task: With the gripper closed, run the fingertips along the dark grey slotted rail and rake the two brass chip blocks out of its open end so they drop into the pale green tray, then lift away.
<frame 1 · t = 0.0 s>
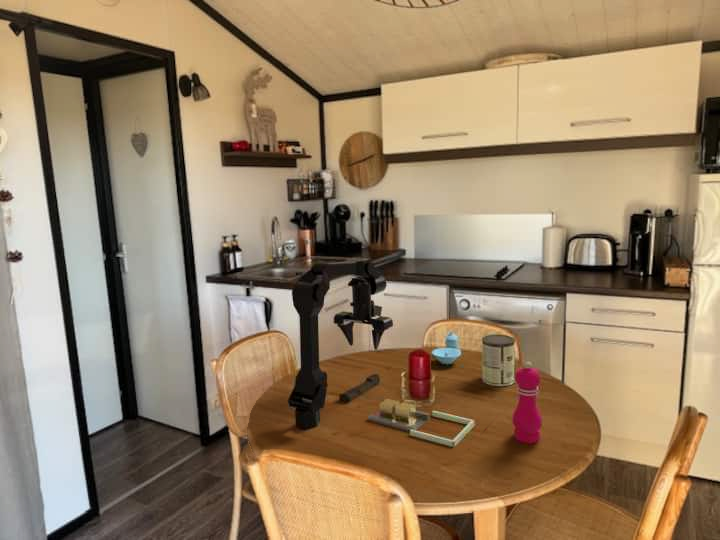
hand: (363, 347, 161), 15 cm above the table, tool pointing down, fingers open, 9 cm apart
pepper mill: (526, 438, 131), on the table
dark piece: (361, 395, 161), on the table
slot rail: (399, 422, 141), on the table
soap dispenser: (448, 361, 189), on the table
coffee can: (497, 381, 168), on the table
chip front: (405, 420, 140), point 1 cm above the table, touching slot rail
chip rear: (389, 416, 143), point 1 cm above the table, touching slot rail
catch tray: (443, 434, 134), on the table
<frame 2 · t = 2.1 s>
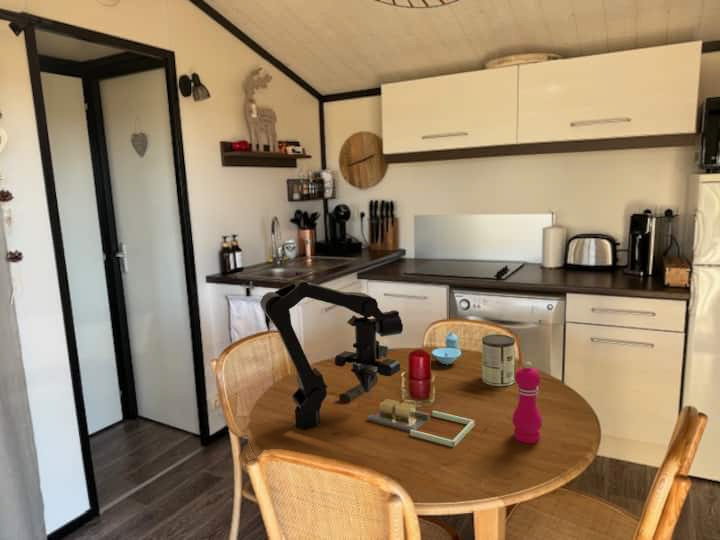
hand: (367, 392, 146), 7 cm above the table, tool pointing down, fingers closed
nothing on the table moved.
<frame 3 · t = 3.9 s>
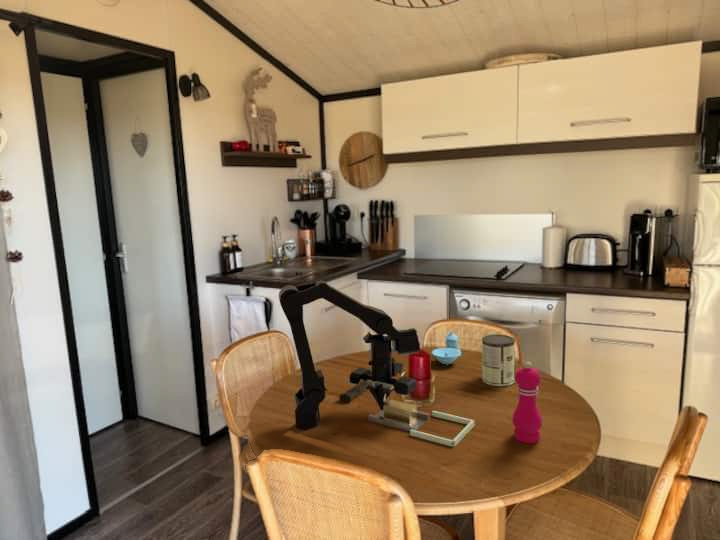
hand: (383, 409, 144), 3 cm above the table, tool pointing down, fingers closed
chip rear: (394, 417, 142), point 1 cm above the table, touching gripper, slot rail
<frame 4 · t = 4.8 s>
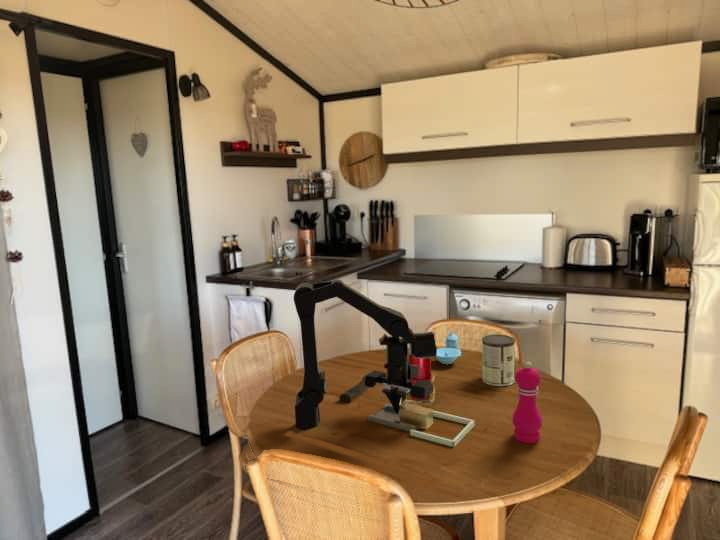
hand: (398, 413, 141), 3 cm above the table, tool pointing down, fingers closed
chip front: (423, 424, 137), point 1 cm above the table, touching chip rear, slot rail
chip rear: (409, 421, 139), point 1 cm above the table, touching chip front, gripper
everything else where it was.
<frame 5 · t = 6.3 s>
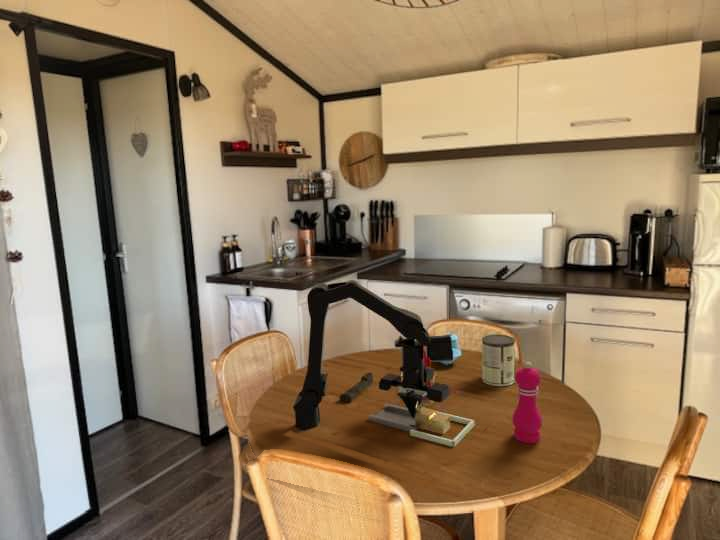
hand: (414, 417, 138), 3 cm above the table, tool pointing down, fingers closed
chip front: (439, 432, 134), resting on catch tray, touching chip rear
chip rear: (425, 425, 137), point 1 cm above the table, touching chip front, gripper
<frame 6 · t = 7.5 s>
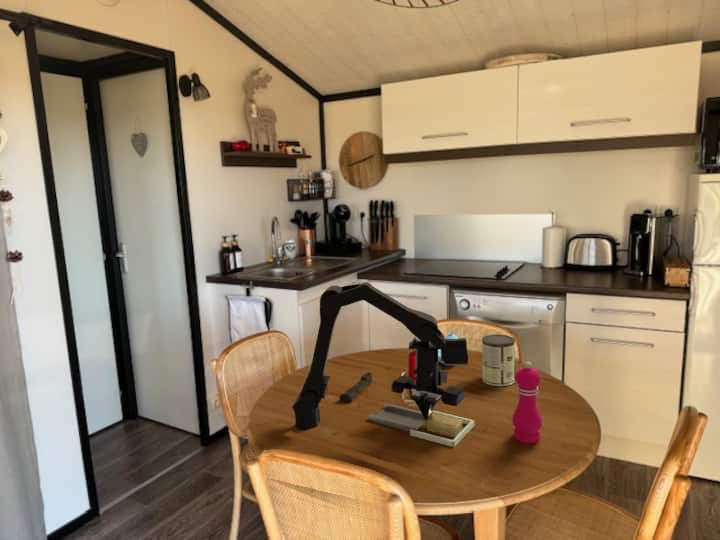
hand: (427, 420, 136), 3 cm above the table, tool pointing down, fingers closed
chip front: (451, 435, 133), resting on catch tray, touching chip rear
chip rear: (437, 431, 135), resting on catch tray, touching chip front, gripper
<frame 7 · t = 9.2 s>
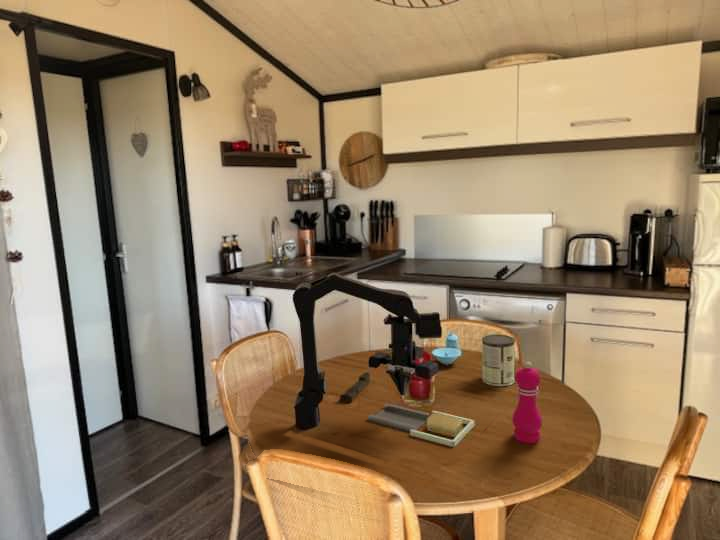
hand: (403, 394, 139), 8 cm above the table, tool pointing down, fingers closed
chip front: (451, 435, 133), resting on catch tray
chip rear: (437, 431, 135), resting on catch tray
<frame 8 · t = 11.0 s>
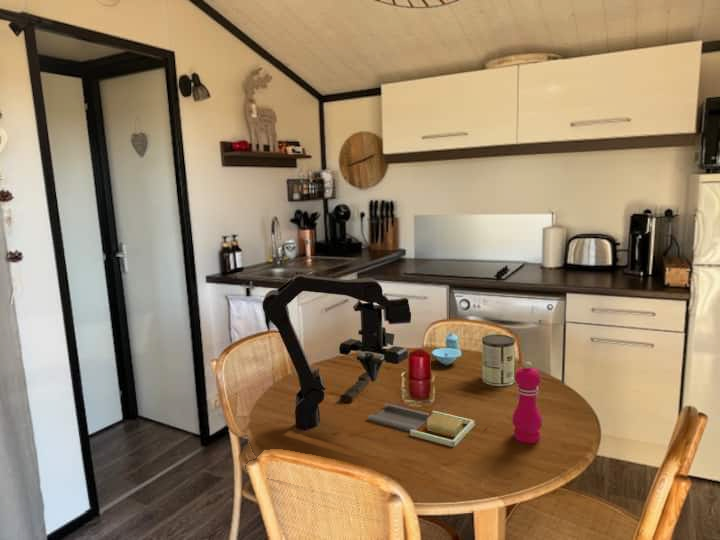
hand: (373, 381, 140), 12 cm above the table, tool pointing down, fingers closed
at the end: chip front inside the target area (2.5 cm from its centre), resting on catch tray; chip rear inside the target area (1.5 cm from its centre), resting on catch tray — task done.
